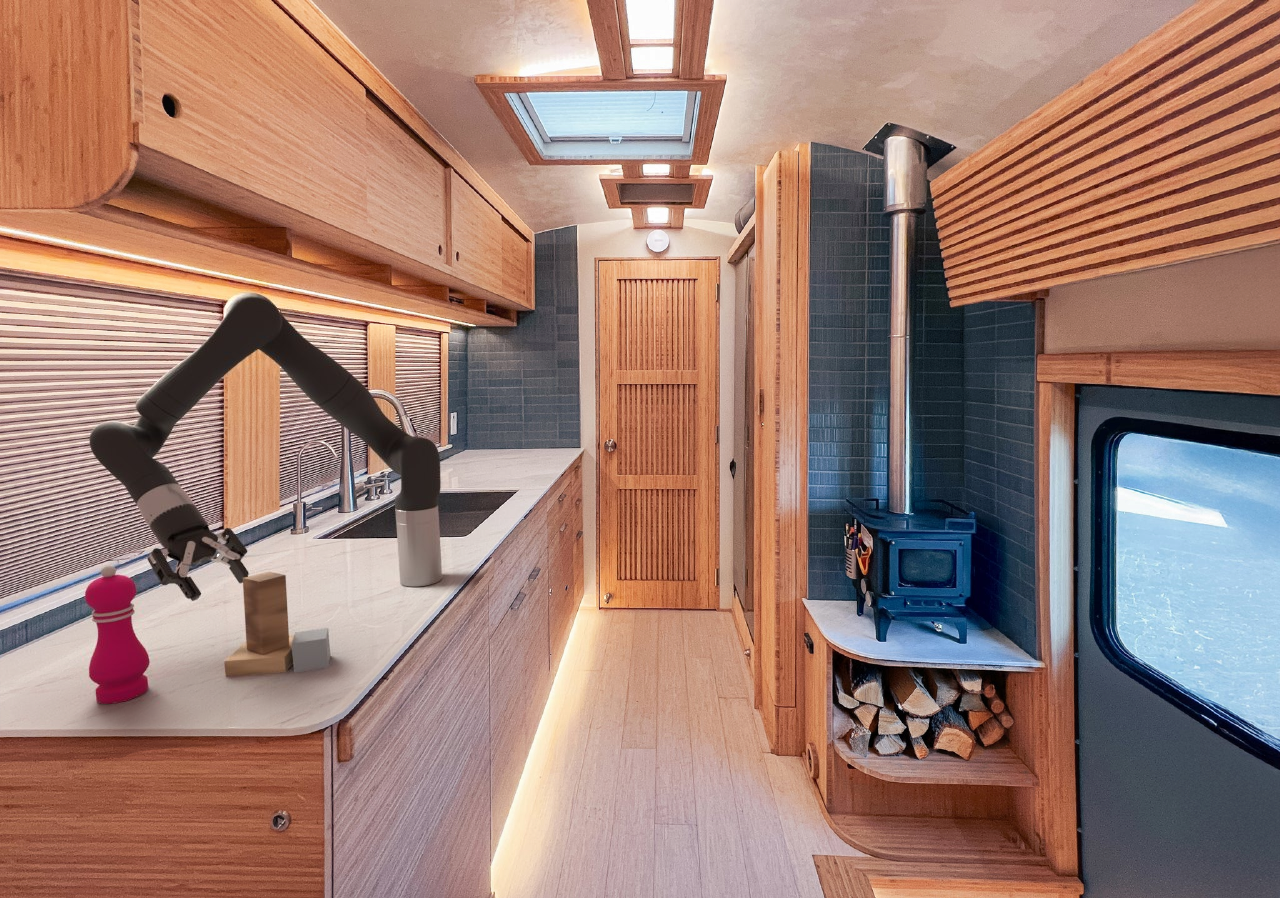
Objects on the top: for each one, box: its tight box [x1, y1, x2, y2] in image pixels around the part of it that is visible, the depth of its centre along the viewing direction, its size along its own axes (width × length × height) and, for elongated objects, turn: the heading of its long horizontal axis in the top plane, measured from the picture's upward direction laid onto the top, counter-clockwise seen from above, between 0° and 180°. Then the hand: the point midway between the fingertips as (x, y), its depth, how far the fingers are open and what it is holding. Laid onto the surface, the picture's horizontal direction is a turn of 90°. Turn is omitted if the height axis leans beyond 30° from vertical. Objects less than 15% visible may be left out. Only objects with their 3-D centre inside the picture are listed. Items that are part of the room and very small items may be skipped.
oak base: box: [223, 635, 294, 677], centre depth 112 cm, size 9×9×3 cm
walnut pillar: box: [242, 571, 290, 654], centre depth 111 cm, size 4×4×12 cm
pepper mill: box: [84, 565, 150, 705], centre depth 100 cm, size 7×7×20 cm
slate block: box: [292, 627, 331, 674], centre depth 110 cm, size 5×5×5 cm
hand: (221, 588), depth 117 cm, fingers open, 8 cm apart
